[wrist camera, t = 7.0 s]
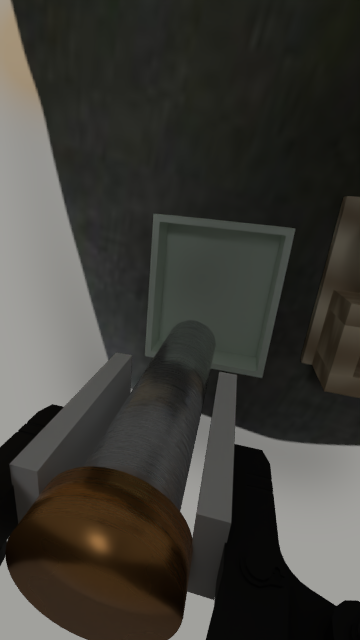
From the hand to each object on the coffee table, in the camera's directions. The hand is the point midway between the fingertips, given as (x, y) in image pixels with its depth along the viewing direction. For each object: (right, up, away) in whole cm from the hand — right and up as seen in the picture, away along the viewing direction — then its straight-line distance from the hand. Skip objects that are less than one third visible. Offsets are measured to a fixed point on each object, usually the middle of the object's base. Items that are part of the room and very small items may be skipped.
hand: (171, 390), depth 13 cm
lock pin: (+1, +2, +5) cm, 6 cm away
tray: (+4, +6, +18) cm, 19 cm away
